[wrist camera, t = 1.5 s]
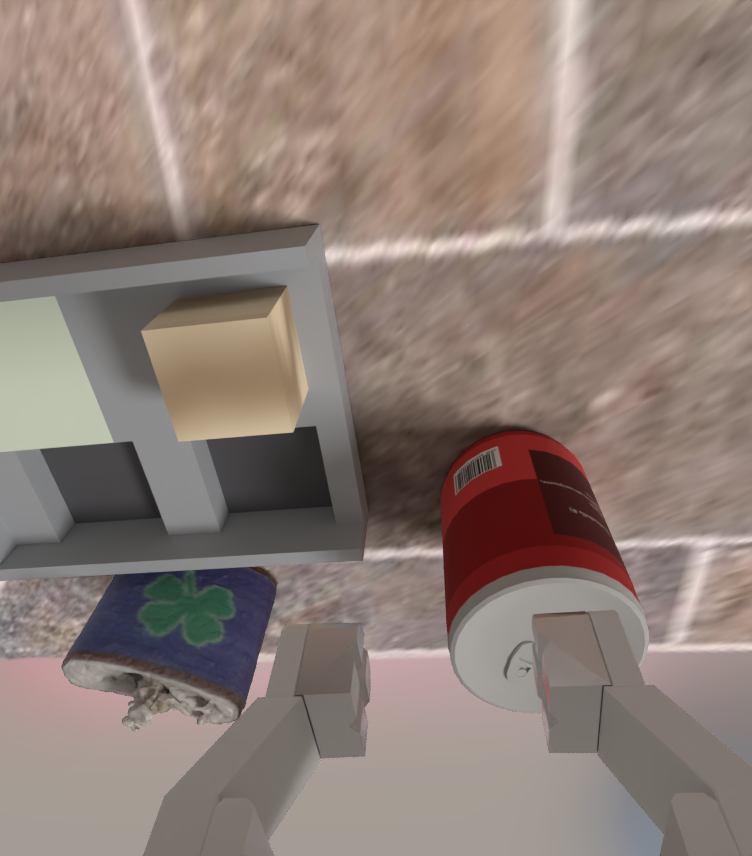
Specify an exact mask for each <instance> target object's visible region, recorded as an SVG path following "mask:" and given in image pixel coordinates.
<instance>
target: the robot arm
mask: <svg viewBox="0 0 752 856" xmlns="http://www.w3.org/2000/svg"><path fill="white" fill-rule="evenodd" d="M532 631H533V636H534V641H535V642H534V643H533V644H532V659H533V671H534V678H535V684H536V690H537V695H538V697H539V698H540V699H541V700H542V720H543V725H544V730H545V735H546V740H547V745H548V750H549V753H598V756H599V758H600V759H601V760H602V761H603V762H604V764H605V765H606V766H607V767H608V768H609V770H610V771H611V772H612V773H613V774H614V775H615V777H616V778H617V779H618V780H619V782H620V783H621V784H622V785H623V786H624V787H625V789H626V790H627V791H628V792H629V793H630V795H631V796H632V797H633V798H634V799H635V801H636V802H637V803H638V804H639V805H640V806H641V808H642V809H643V810H644V811H645V812H646V814H647V815H648V816H649V817H650V819H652V821H653V822H654V823H655V824H656V826H657V827H658V828H659V829H660V830H661V832H662V833H663V834H664V837H663V843H662V847H661V852H660V856H752V767H751V766H750V765H749V764H747V763H746V762H745V761H744V760H743V759H742V758H740V757H739V756H738V755H737V754H736V753H734V752H733V751H732V750H731V749H730V748H728V747H727V746H726V745H725V744H724V743H722V742H721V741H720V740H719V739H718V738H716V737H715V736H714V735H713V734H712V733H710V732H709V731H708V730H707V729H706V728H705V727H703V726H702V725H701V724H700V723H699V722H697V721H696V720H695V719H694V718H693V717H692V716H690V715H689V714H688V713H687V712H686V711H684V710H683V709H682V708H681V707H680V706H678V705H677V704H676V703H675V702H674V701H672V700H671V699H670V698H669V697H668V696H666V695H665V694H664V693H663V692H662V691H661V690H659V689H658V688H657V687H656V686H654V685H645V683H644V680H643V677H642V675H641V672H640V669H639V667H638V664H637V661H636V659H635V656H634V654H633V651H632V648H631V646H630V643H629V640H628V638H627V635H626V633H625V630H624V627H623V625H622V622H621V620H620V617H619V614H618V613H617V612H616V611H615V610H602V611H587V612H585V611H578V612H561V613H543V614H533V616H532ZM363 644H364V632H363V628H362V624H361V623H322V624H293V625H285V627H284V629H283V630H282V632H281V636H280V640H279V644H278V648H277V652H276V656H275V660H274V664H273V668H272V672H271V676H270V680H269V684H268V688H267V692H266V696H265V697H263V698H257V699H256V700H255V701H254V702H253V703H252V704H251V706H250V707H249V708H248V709H247V710H246V711H245V712H244V713H243V714H242V715H241V716H240V717H239V718H238V719H237V720H236V721H235V722H234V723H233V724H232V726H231V727H230V728H229V729H228V730H227V731H226V732H225V733H224V734H223V735H222V736H221V737H220V738H219V739H218V740H217V741H216V742H215V744H214V745H213V746H212V747H211V748H210V749H209V750H208V751H207V752H206V753H205V754H204V755H203V756H202V757H201V758H200V759H199V760H198V761H197V763H195V765H194V766H193V767H192V768H191V769H190V770H189V771H188V772H187V773H186V774H185V775H184V776H183V777H182V778H181V779H180V780H179V781H178V783H177V784H176V785H175V786H174V787H173V788H172V789H171V790H170V791H169V792H168V793H167V794H166V795H165V796H164V799H163V801H162V804H161V807H160V810H159V813H158V816H157V818H156V821H155V824H154V827H153V829H152V832H151V835H150V838H149V840H148V843H147V846H146V849H145V852H144V855H143V856H274V854H273V851H272V849H271V847H270V844H269V842H268V840H269V839H270V837H271V836H272V834H273V833H274V831H275V830H276V828H277V827H278V825H279V824H280V822H281V821H282V819H283V818H284V816H285V815H286V813H287V812H288V810H289V809H290V807H291V806H292V804H293V803H294V801H295V800H296V798H297V797H298V795H299V794H300V792H301V791H302V789H303V788H304V786H305V785H306V783H307V782H308V780H309V779H310V777H311V776H312V774H313V773H314V771H315V770H316V768H317V767H318V765H319V764H320V762H321V760H320V758H339V757H359V756H365V751H366V740H367V728H368V721H367V716H366V711H365V706H366V705H367V704H368V702H369V700H370V664H369V657H368V652H367V650H365V649H364V648H363Z"/></svg>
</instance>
